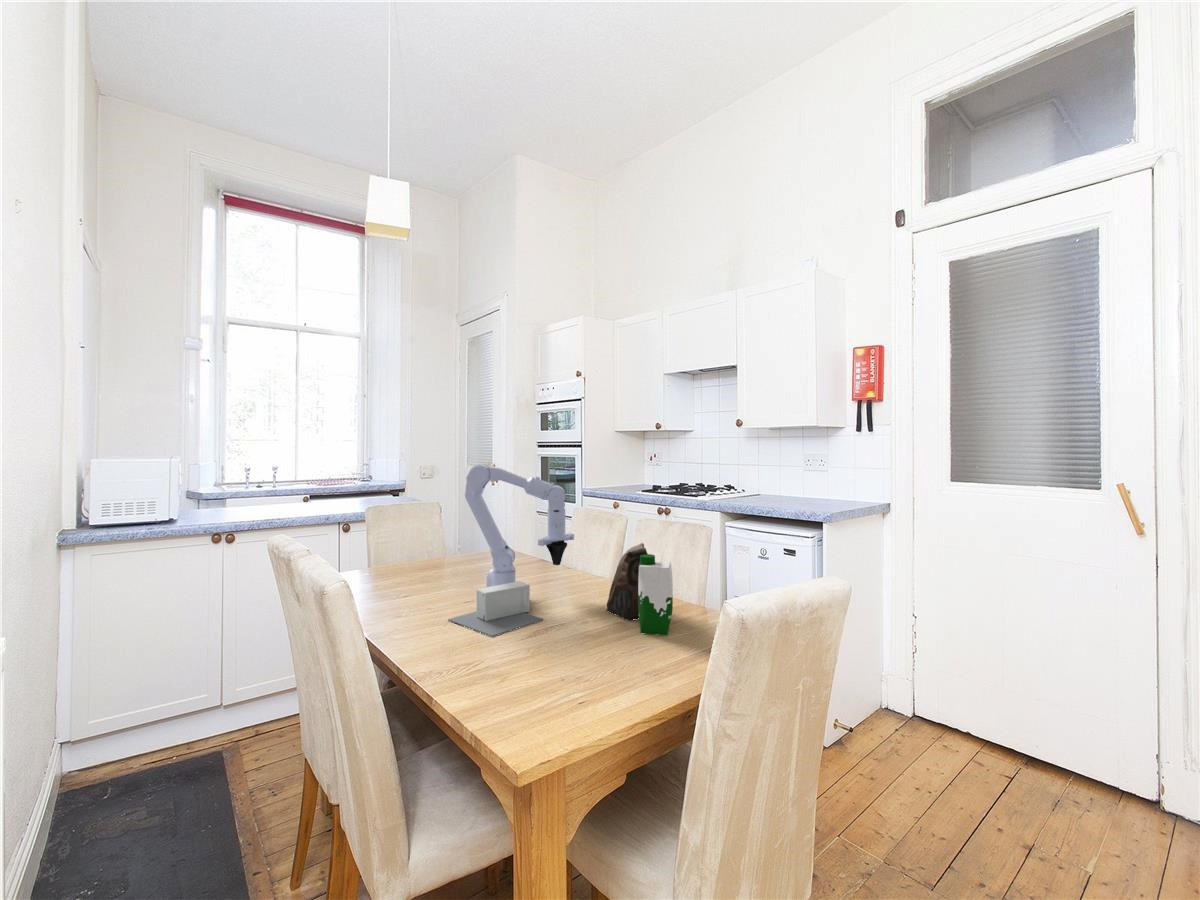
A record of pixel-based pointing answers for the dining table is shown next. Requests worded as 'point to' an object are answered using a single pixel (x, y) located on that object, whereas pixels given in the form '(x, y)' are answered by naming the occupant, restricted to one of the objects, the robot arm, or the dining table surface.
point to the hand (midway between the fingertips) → (556, 564)
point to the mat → (495, 622)
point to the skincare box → (503, 600)
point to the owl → (626, 585)
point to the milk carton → (655, 595)
